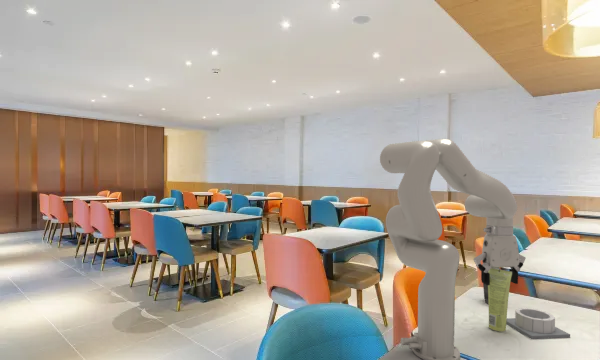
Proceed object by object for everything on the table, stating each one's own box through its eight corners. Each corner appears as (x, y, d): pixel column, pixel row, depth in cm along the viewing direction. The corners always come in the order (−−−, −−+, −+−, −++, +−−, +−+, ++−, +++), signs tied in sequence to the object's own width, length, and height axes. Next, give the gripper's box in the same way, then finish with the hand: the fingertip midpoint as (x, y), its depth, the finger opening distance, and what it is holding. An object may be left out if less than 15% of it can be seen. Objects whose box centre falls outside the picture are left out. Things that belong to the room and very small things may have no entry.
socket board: (531, 339, 106) (531, 322, 106) (502, 321, 119) (502, 306, 119) (570, 337, 107) (570, 321, 107) (537, 320, 120) (537, 305, 120)
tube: (502, 325, 115) (503, 267, 115) (511, 332, 110) (512, 271, 110) (485, 325, 115) (486, 267, 115) (493, 332, 110) (494, 271, 110)
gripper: (481, 233, 108) (481, 288, 108) (533, 232, 110) (533, 285, 110) (467, 229, 115) (467, 280, 116) (515, 228, 117) (515, 278, 117)
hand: (499, 283), depth 113 cm, fingers open, 9 cm apart
